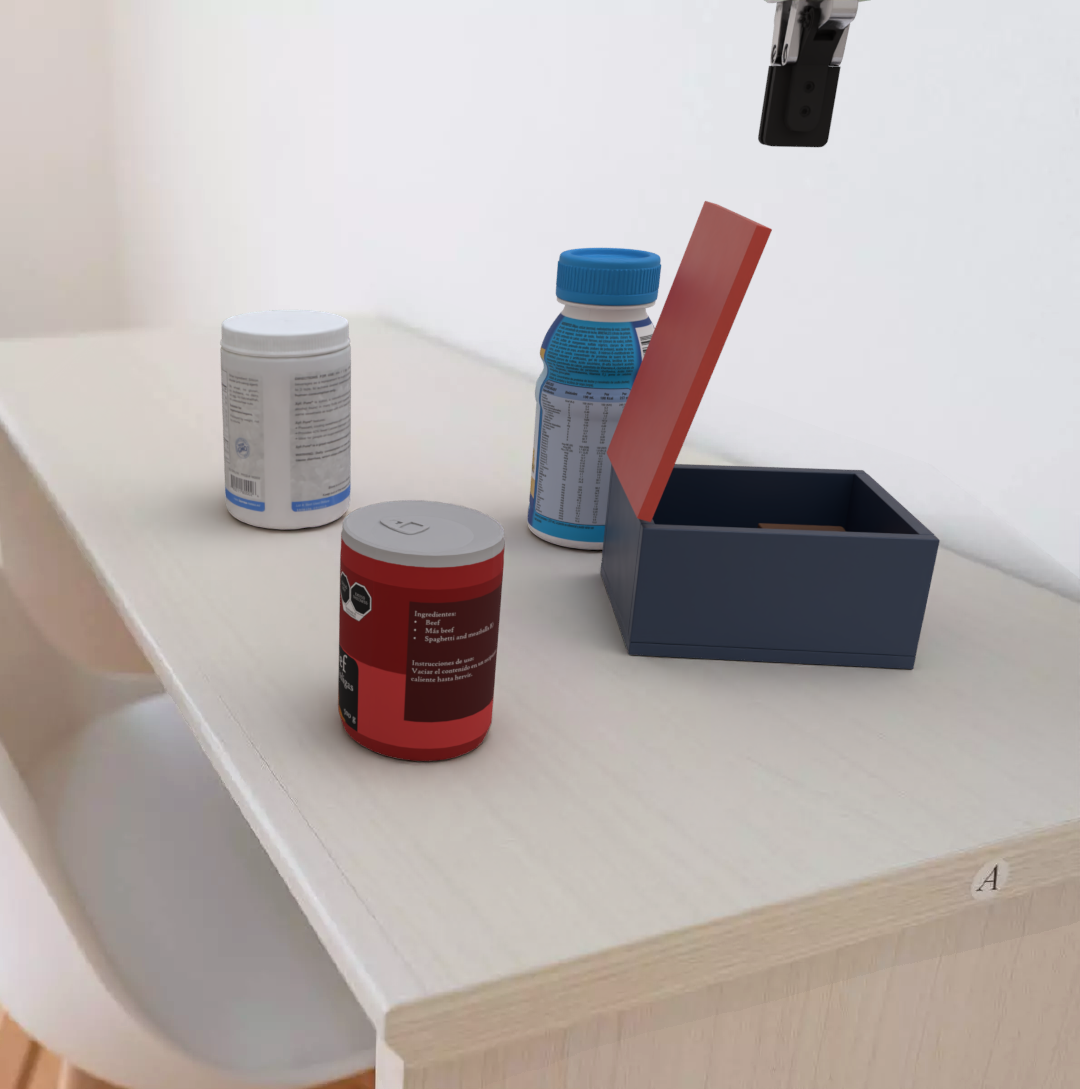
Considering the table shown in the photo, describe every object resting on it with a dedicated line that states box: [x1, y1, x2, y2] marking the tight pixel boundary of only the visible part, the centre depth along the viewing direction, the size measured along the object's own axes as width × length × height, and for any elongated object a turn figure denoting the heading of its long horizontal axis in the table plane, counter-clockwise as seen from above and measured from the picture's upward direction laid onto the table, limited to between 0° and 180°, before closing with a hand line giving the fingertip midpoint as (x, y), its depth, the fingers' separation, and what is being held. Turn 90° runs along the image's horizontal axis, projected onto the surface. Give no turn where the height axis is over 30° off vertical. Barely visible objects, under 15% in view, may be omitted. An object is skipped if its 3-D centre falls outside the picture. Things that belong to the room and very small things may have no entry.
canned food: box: [337, 499, 506, 762], centre depth 61 cm, size 8×8×11 cm
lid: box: [607, 200, 773, 522], centre depth 71 cm, size 16×13×1 cm
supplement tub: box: [219, 309, 352, 531], centre depth 91 cm, size 10×10×15 cm
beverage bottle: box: [526, 247, 662, 551], centre depth 86 cm, size 8×8×20 cm
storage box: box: [599, 463, 941, 670], centre depth 74 cm, size 16×13×8 cm
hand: (791, 145), depth 66 cm, fingers closed
